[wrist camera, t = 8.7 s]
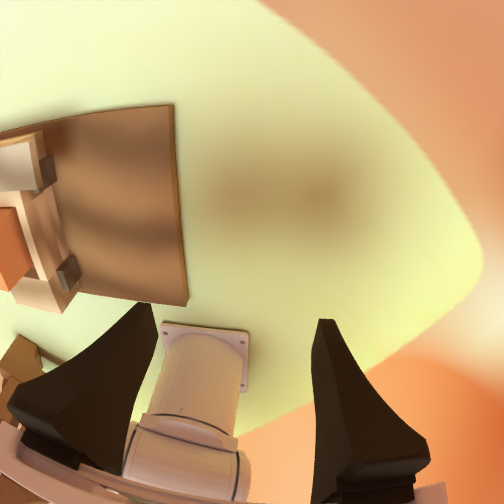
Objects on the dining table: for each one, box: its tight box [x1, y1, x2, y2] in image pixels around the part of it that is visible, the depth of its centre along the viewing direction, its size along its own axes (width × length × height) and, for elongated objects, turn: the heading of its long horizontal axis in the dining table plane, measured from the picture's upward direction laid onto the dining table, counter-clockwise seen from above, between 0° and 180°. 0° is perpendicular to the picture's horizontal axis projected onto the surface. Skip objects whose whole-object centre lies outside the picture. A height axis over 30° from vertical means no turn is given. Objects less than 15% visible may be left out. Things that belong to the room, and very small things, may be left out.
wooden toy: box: [0, 334, 49, 504], centre depth 25 cm, size 16×7×25 cm, turn 67°
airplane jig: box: [0, 105, 189, 314], centre depth 19 cm, size 15×20×5 cm
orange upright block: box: [0, 207, 34, 292], centre depth 18 cm, size 5×3×6 cm, turn 179°
